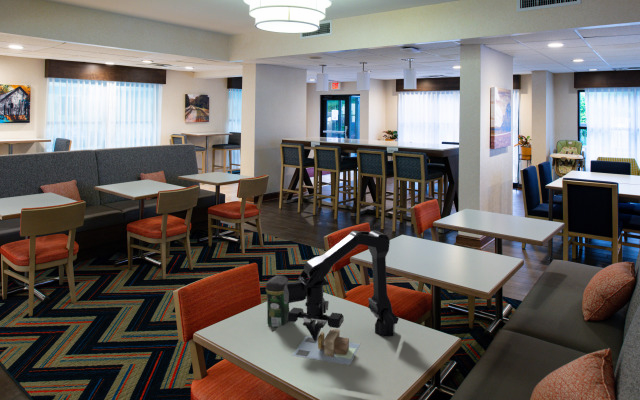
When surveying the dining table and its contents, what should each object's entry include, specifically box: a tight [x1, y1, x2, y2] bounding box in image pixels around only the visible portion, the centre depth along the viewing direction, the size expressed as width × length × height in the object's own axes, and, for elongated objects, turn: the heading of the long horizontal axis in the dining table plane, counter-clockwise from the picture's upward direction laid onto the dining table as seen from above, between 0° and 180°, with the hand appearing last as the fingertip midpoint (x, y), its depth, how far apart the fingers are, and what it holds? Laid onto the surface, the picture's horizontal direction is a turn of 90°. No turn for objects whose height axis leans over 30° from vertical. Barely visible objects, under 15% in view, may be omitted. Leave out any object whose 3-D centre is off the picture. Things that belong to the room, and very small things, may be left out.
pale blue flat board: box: [292, 335, 361, 366], centre depth 155 cm, size 20×14×1 cm
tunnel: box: [324, 327, 341, 357], centre depth 154 cm, size 3×8×6 cm, turn 162°
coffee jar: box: [265, 275, 290, 329], centre depth 177 cm, size 10×8×19 cm
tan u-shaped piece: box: [318, 331, 350, 355], centre depth 154 cm, size 10×4×5 cm, turn 72°
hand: (315, 340), depth 156 cm, fingers closed
